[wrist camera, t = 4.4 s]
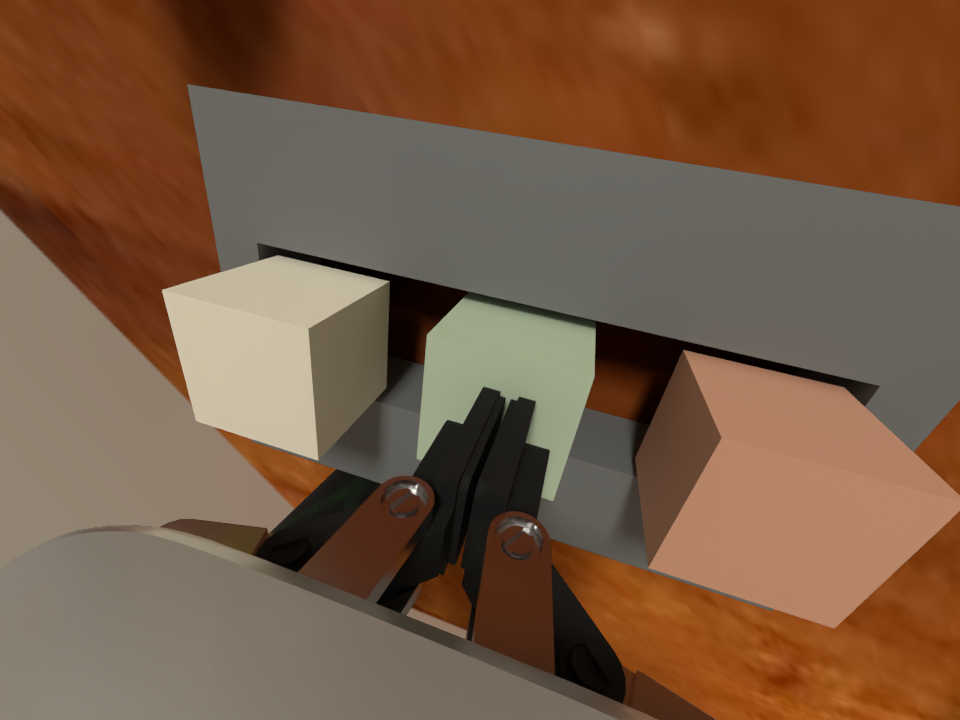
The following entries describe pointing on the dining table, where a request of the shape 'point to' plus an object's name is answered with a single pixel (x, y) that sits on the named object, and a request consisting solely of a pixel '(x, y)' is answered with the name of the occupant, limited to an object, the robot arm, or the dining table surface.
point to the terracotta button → (780, 490)
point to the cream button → (282, 350)
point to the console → (593, 269)
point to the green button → (510, 371)
